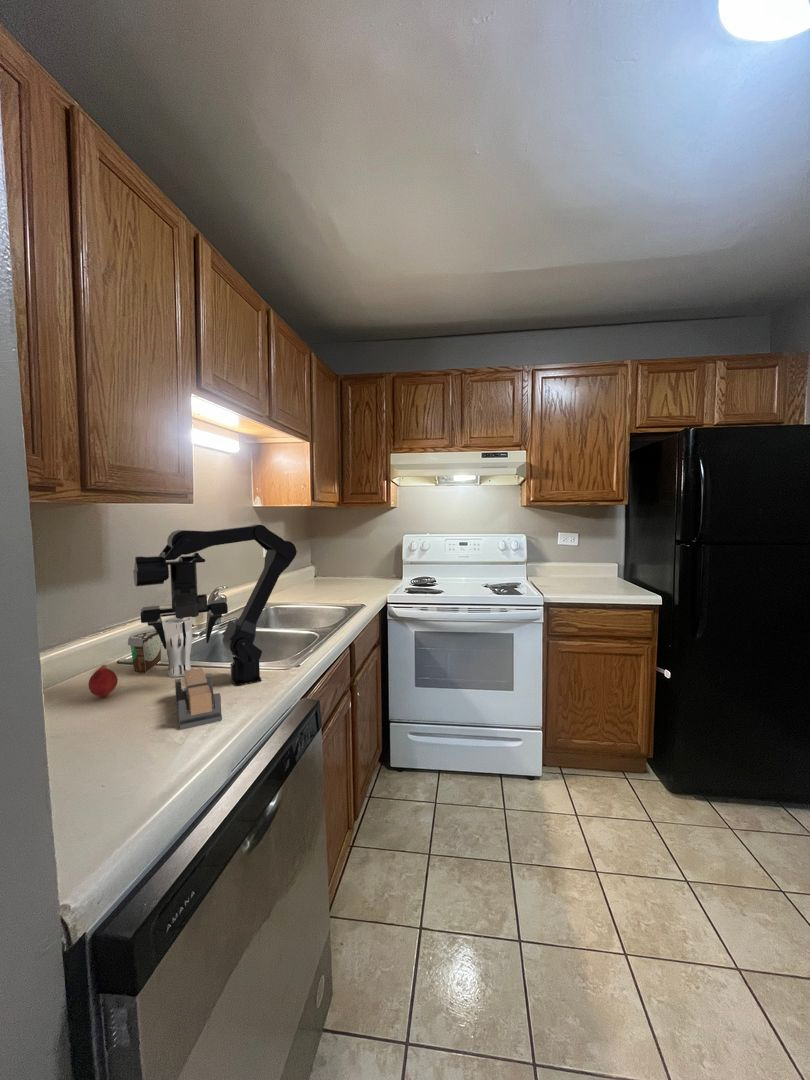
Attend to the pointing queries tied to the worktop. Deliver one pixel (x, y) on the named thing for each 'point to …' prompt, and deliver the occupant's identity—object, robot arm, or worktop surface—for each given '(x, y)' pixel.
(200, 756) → the worktop surface
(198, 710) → the banded tan post
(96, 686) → the onion
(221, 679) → the worktop surface
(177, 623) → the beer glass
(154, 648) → the food container
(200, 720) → the collar stand
